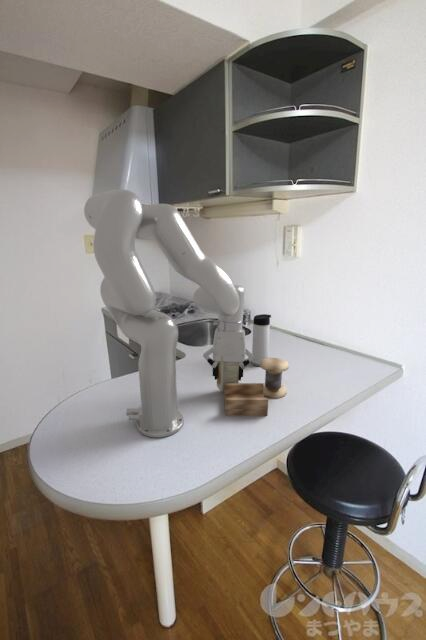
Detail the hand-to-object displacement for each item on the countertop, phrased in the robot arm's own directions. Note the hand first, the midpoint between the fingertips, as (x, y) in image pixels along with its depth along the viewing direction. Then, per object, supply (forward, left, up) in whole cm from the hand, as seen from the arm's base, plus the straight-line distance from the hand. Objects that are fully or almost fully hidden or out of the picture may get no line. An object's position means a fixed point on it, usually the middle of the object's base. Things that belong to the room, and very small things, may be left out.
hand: (227, 378), depth 102 cm
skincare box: (0, 0, -4) cm, 4 cm away
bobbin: (+15, +1, -5) cm, 16 cm away
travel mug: (+14, +23, -5) cm, 27 cm away
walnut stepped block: (+5, -8, -5) cm, 11 cm away
